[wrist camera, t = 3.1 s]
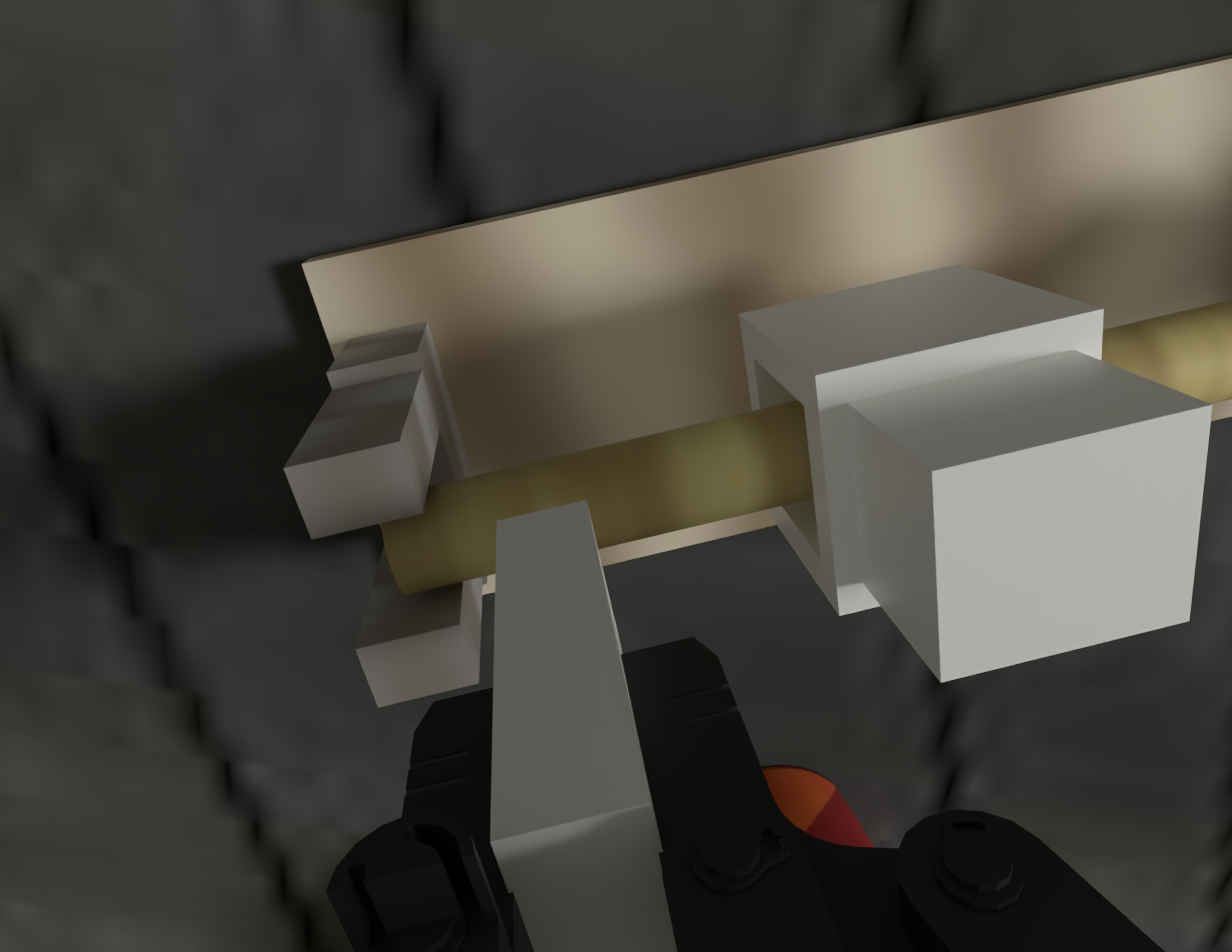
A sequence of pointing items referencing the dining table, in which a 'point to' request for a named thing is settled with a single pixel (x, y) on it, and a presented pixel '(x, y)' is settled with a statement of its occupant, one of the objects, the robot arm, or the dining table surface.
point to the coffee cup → (815, 805)
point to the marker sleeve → (983, 466)
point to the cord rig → (723, 332)
